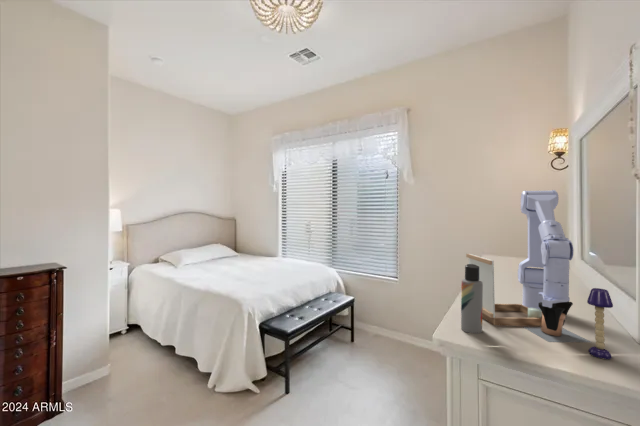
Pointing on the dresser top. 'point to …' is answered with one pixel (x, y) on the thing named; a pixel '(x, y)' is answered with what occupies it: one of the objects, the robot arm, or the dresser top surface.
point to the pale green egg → (534, 313)
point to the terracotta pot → (552, 332)
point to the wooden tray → (512, 316)
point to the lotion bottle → (471, 300)
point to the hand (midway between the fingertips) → (555, 327)
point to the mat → (565, 336)
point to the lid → (485, 282)
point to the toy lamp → (599, 320)
